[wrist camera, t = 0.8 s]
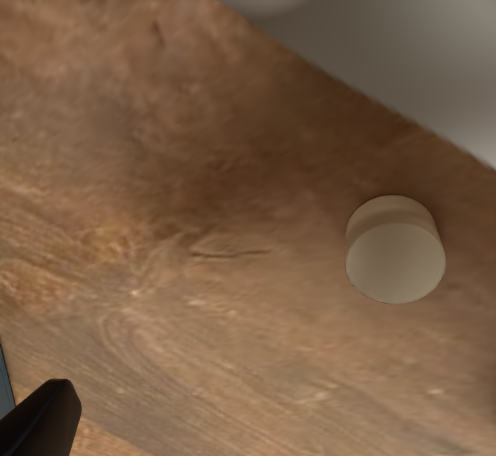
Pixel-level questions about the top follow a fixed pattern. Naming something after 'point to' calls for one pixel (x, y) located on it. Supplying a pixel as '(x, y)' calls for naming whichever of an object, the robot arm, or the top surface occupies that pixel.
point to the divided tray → (5, 390)
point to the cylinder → (393, 250)
